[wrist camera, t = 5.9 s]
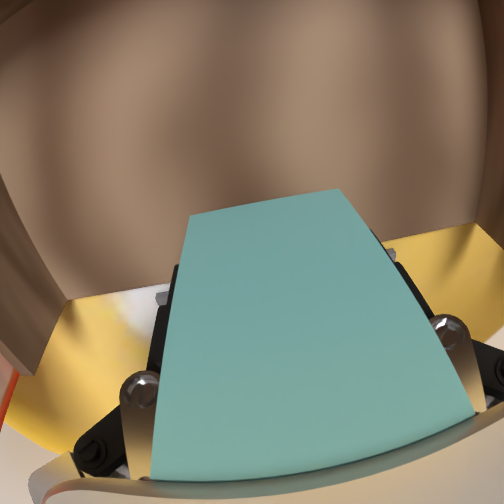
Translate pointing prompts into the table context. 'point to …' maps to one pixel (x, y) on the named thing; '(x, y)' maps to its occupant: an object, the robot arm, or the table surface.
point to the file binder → (6, 385)
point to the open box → (229, 130)
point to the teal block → (294, 348)
